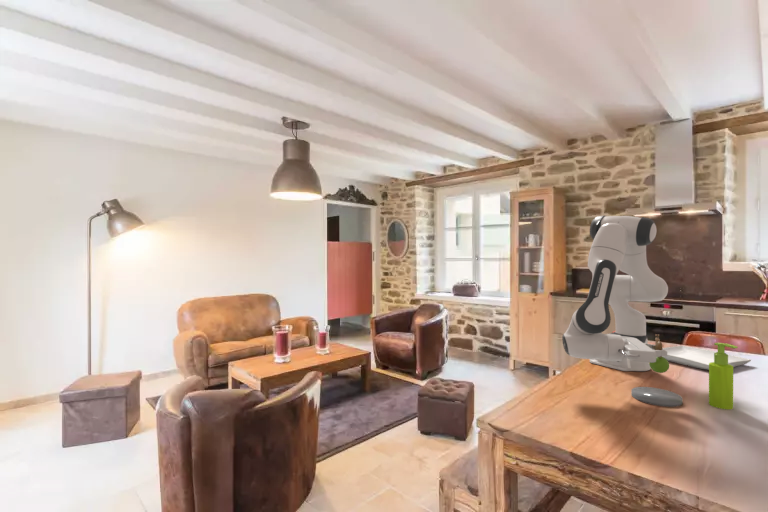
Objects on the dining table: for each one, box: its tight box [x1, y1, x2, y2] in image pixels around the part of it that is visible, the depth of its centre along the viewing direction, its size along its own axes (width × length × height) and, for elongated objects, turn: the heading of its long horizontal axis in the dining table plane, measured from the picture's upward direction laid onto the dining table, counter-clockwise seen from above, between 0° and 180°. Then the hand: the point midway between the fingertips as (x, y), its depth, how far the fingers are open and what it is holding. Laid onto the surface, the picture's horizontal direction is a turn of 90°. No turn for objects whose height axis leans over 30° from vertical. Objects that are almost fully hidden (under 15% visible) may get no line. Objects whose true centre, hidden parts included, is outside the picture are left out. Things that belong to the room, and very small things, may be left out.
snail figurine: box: [649, 333, 670, 374], centre depth 130 cm, size 5×6×12 cm
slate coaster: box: [630, 386, 683, 408], centre depth 131 cm, size 14×14×2 cm
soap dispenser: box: [708, 342, 739, 411], centre depth 124 cm, size 6×7×20 cm
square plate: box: [662, 345, 752, 371], centre depth 174 cm, size 27×27×4 cm
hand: (662, 350), depth 129 cm, fingers closed on snail figurine, 5 cm apart
